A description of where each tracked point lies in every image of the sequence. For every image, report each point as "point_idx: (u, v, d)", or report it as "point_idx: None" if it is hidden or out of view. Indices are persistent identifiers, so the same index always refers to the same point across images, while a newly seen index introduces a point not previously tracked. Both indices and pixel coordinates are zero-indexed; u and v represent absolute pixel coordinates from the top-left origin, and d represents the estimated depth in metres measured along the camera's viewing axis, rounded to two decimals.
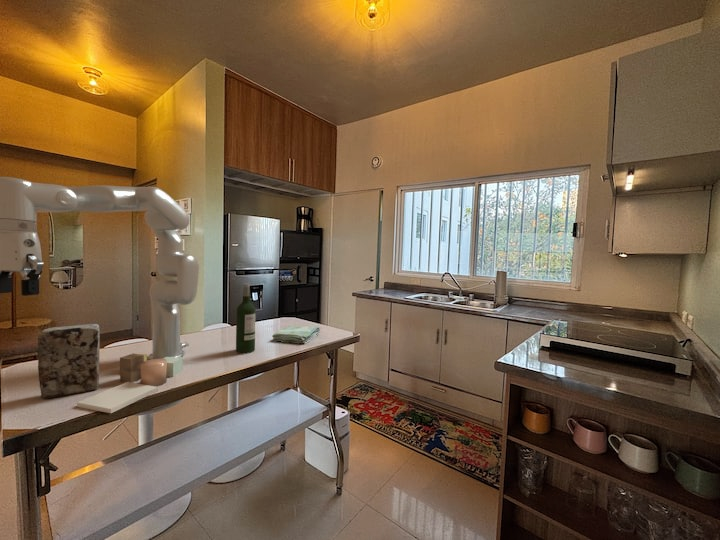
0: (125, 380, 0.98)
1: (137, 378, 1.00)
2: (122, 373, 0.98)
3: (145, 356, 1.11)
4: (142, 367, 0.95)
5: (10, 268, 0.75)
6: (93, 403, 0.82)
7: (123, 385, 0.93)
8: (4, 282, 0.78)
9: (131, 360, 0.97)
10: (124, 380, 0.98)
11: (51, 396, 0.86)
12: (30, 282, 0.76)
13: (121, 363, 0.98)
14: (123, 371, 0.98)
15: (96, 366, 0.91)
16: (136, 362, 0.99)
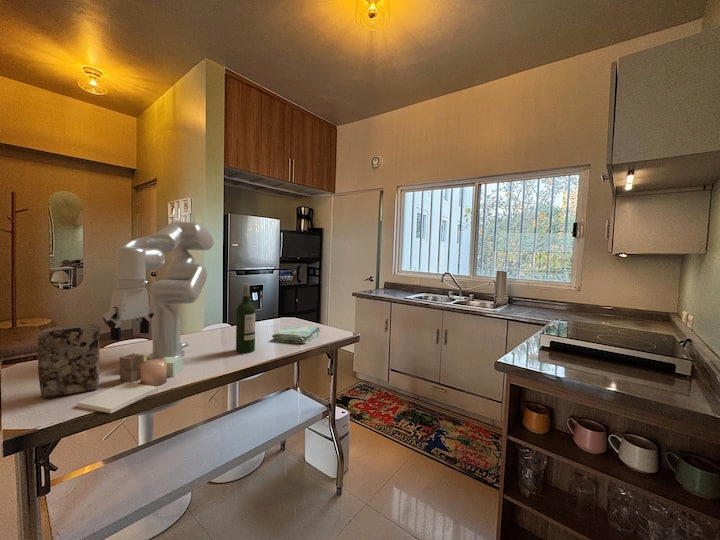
0: (125, 380, 0.98)
1: (137, 378, 1.00)
2: (122, 373, 0.98)
3: (145, 356, 1.11)
4: (142, 367, 0.95)
5: (141, 315, 1.00)
6: (93, 403, 0.82)
7: (123, 385, 0.93)
8: None
9: (131, 360, 0.97)
10: (124, 380, 0.98)
11: (51, 396, 0.86)
12: None
13: (121, 363, 0.98)
14: (123, 371, 0.98)
15: (96, 366, 0.91)
16: (136, 362, 0.99)
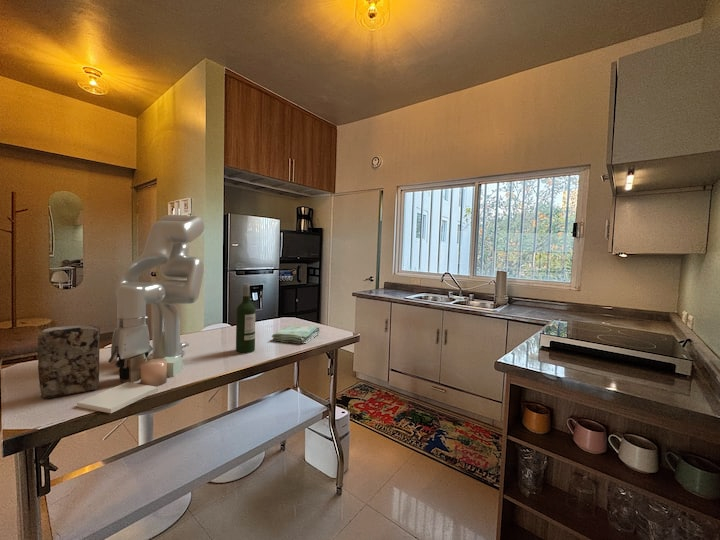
0: (125, 380, 0.98)
1: (137, 378, 1.00)
2: None
3: None
4: (142, 367, 0.95)
5: (142, 351, 1.01)
6: (93, 403, 0.82)
7: (123, 385, 0.93)
8: None
9: (131, 360, 0.97)
10: (124, 380, 0.98)
11: (51, 396, 0.86)
12: None
13: None
14: None
15: (96, 366, 0.91)
16: (136, 362, 0.99)
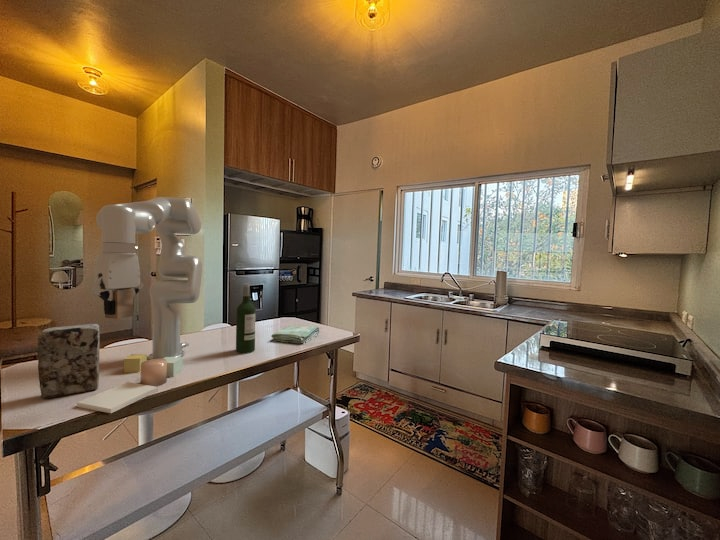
0: (111, 316, 0.84)
1: (125, 315, 0.86)
2: None
3: (145, 356, 1.11)
4: (142, 367, 0.95)
5: (131, 285, 0.87)
6: (93, 403, 0.82)
7: (123, 385, 0.93)
8: None
9: (117, 291, 0.83)
10: (110, 316, 0.84)
11: (51, 396, 0.86)
12: None
13: None
14: None
15: (96, 366, 0.91)
16: (124, 295, 0.85)
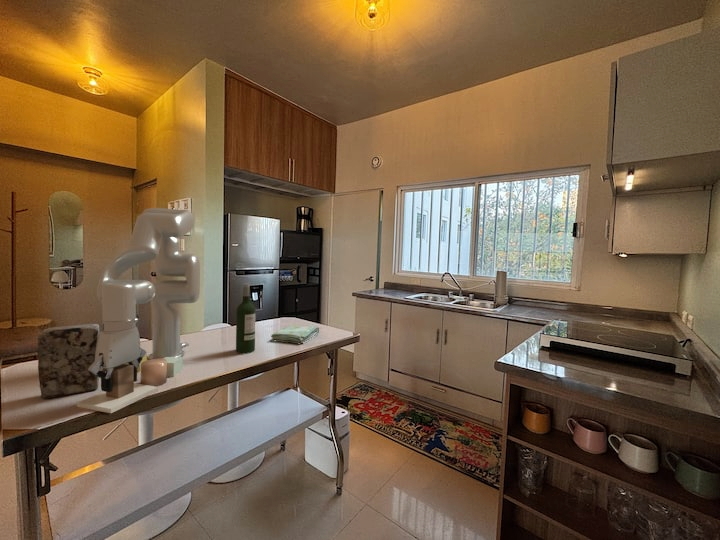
0: (112, 395, 0.85)
1: (126, 392, 0.87)
2: None
3: (145, 356, 1.11)
4: (142, 367, 0.95)
5: (131, 359, 0.88)
6: (93, 403, 0.82)
7: None
8: None
9: (118, 372, 0.85)
10: (110, 395, 0.85)
11: (51, 396, 0.86)
12: None
13: None
14: None
15: None
16: (125, 374, 0.86)
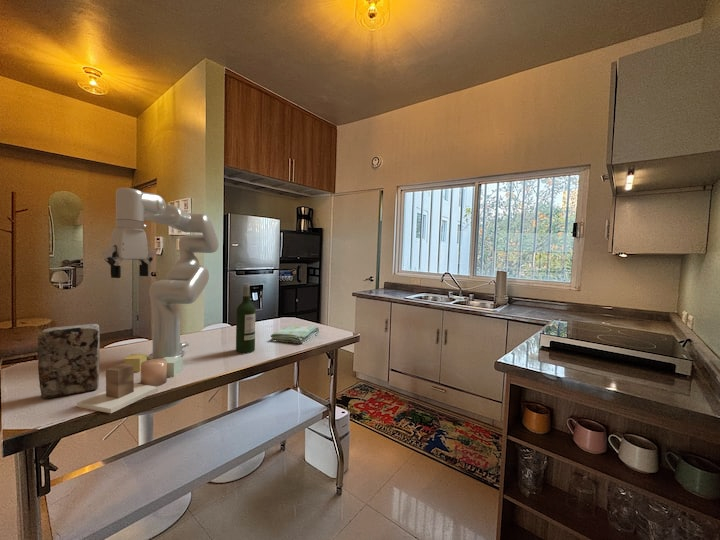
0: (112, 395, 0.85)
1: (126, 392, 0.87)
2: (108, 387, 0.86)
3: (145, 356, 1.11)
4: (142, 367, 0.95)
5: (140, 257, 1.02)
6: (93, 403, 0.82)
7: None
8: None
9: (118, 372, 0.85)
10: (110, 395, 0.85)
11: (51, 396, 0.86)
12: None
13: (107, 375, 0.86)
14: (109, 385, 0.85)
15: (96, 366, 0.91)
16: (125, 374, 0.86)
